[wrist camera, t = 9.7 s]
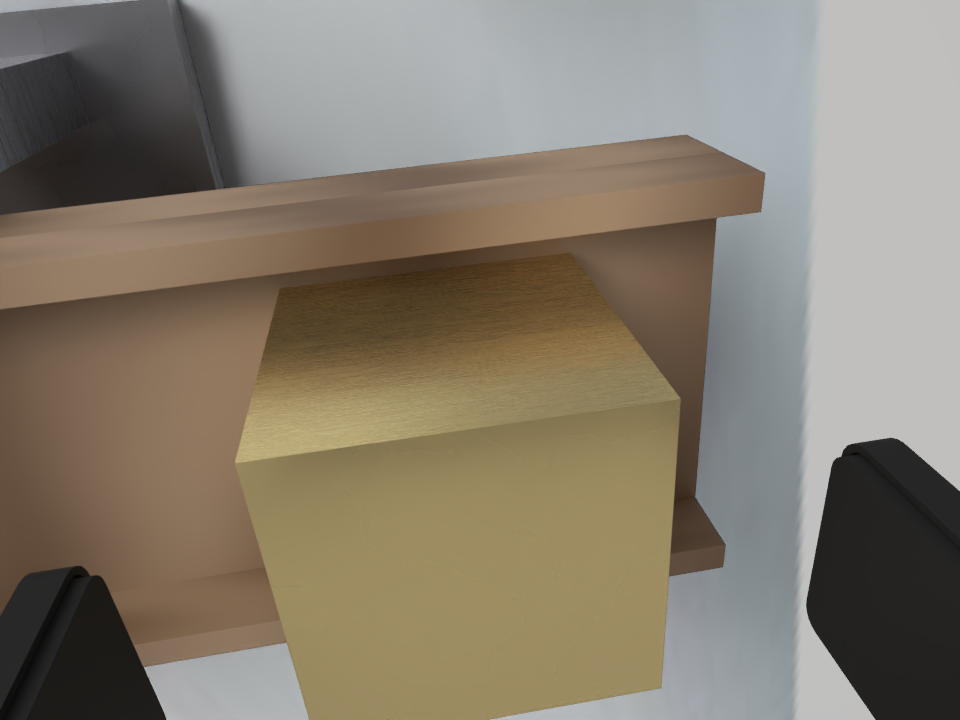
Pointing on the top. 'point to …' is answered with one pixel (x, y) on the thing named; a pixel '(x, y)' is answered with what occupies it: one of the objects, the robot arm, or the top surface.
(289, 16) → the top surface
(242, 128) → the top surface
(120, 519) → the beam
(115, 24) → the pivot stand
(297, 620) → the block
